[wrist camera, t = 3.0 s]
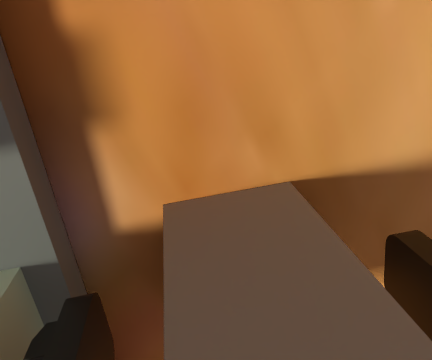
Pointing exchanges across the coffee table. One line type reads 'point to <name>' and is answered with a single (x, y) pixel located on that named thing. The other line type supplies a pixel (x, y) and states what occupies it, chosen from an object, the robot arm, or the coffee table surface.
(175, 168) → the coffee table surface
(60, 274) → the board
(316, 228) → the block
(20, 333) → the end holder
